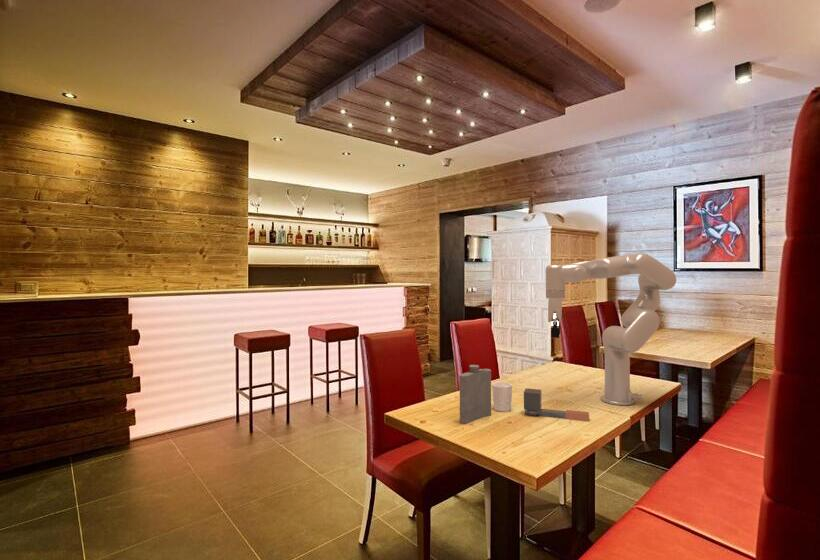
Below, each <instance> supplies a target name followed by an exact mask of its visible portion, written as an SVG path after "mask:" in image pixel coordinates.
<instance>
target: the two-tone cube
mask: <svg viewBox="0 0 820 560" xmlns="http://www.w3.org/2000/svg"><path fill="white" fill-rule="evenodd" d="M525 409H526V410H535V411H540V410H541V409H542V389H540V388H539V389H535V388H527V387H526V388H525V389H524V391H523V410H525Z"/></svg>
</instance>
